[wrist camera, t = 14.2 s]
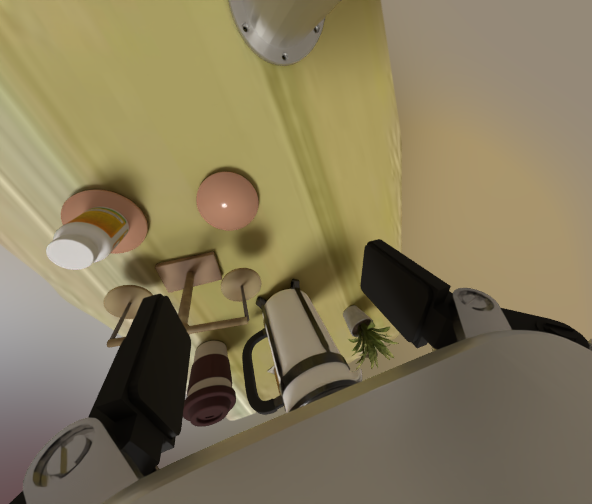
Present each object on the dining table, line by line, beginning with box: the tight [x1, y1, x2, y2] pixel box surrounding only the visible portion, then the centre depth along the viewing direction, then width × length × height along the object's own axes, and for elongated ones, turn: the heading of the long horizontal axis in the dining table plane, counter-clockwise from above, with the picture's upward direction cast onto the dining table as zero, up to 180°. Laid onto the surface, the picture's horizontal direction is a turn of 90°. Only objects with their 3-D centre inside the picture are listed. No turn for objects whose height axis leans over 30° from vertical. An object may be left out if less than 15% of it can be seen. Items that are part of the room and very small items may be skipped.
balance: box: [104, 251, 261, 347], centre depth 33 cm, size 24×7×17 cm, turn 95°
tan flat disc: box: [61, 189, 148, 253], centre depth 32 cm, size 10×10×1 cm
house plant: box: [343, 306, 397, 369], centre depth 56 cm, size 14×14×16 cm
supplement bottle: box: [46, 207, 129, 270], centre depth 27 cm, size 5×5×10 cm
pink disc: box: [196, 171, 258, 231], centre depth 36 cm, size 10×10×1 cm
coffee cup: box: [183, 341, 236, 426], centre depth 46 cm, size 10×10×15 cm
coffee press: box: [242, 279, 362, 415], centre depth 40 cm, size 17×16×30 cm
